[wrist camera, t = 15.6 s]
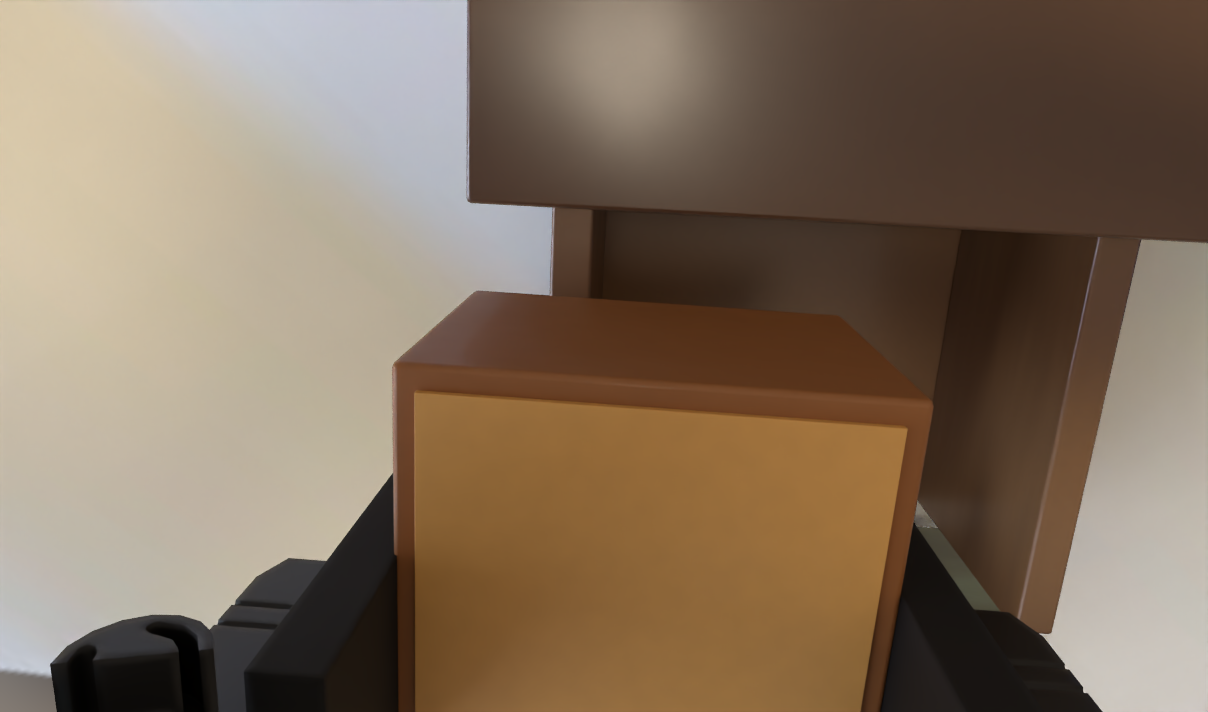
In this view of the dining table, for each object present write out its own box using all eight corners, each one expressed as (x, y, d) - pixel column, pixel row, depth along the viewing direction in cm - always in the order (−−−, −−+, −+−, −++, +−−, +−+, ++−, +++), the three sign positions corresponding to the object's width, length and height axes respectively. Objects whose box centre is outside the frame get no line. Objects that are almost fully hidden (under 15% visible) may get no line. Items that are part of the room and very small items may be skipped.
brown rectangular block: (787, 709, 15) (845, 946, 11) (467, 681, 15) (393, 903, 11) (841, 314, 13) (941, 403, 9) (473, 289, 13) (387, 365, 9)
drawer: (909, 744, 27) (1013, 982, 20) (535, 717, 28) (495, 940, 20) (1046, -13, 21) (1279, -95, 13) (559, -35, 21) (513, -127, 14)
